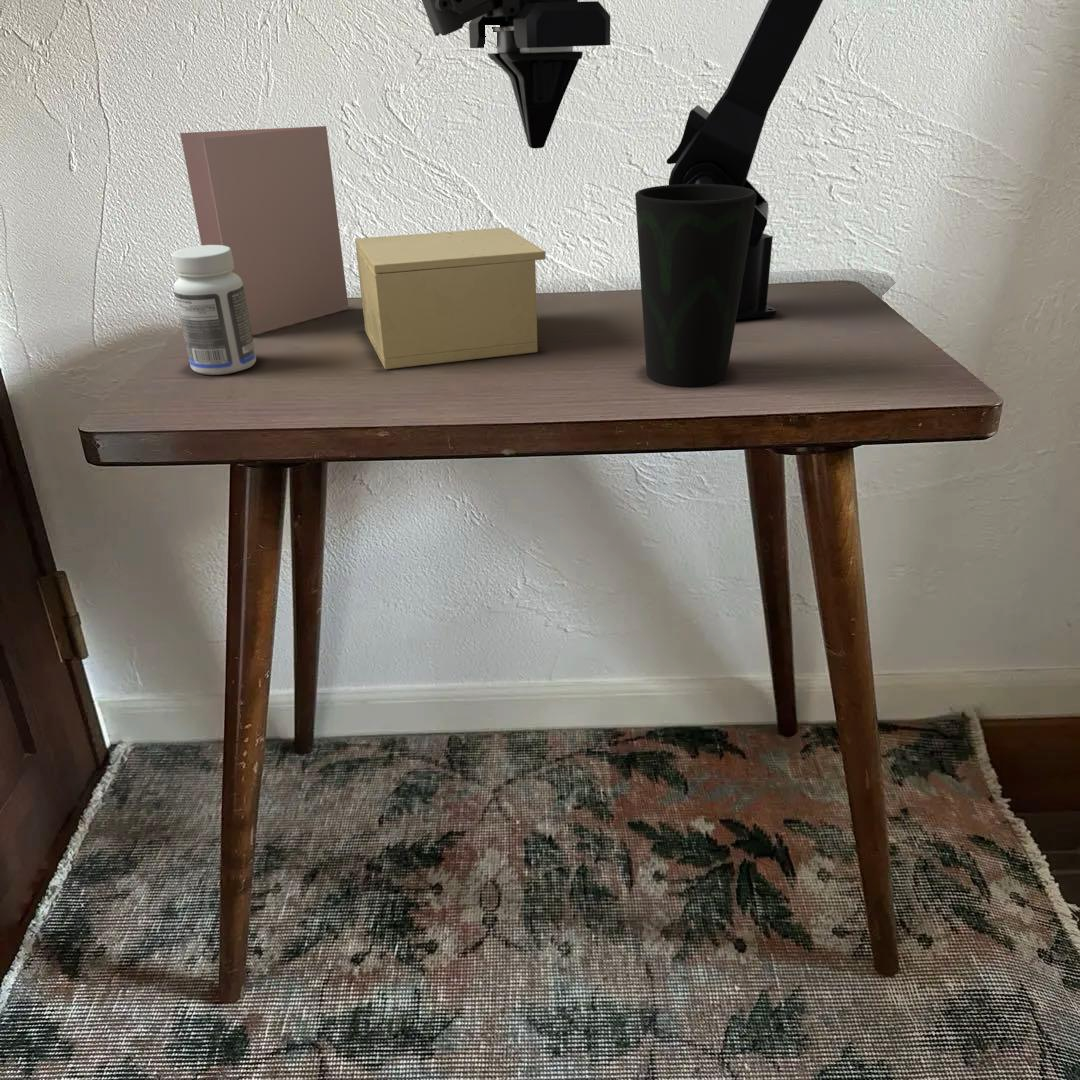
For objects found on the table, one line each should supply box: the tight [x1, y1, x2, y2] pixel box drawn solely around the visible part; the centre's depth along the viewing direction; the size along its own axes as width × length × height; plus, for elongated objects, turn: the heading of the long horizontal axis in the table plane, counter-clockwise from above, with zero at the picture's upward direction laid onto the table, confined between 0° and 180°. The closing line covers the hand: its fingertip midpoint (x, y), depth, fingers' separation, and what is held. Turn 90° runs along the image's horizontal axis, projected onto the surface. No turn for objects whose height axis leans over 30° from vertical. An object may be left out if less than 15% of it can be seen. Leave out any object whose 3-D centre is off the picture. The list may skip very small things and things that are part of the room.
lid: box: [354, 226, 547, 274], centre depth 70 cm, size 12×11×1 cm
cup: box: [634, 184, 757, 388], centre depth 62 cm, size 8×8×12 cm
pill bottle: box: [171, 245, 257, 376], centre depth 68 cm, size 5×5×8 cm
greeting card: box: [179, 125, 350, 336], centre depth 77 cm, size 11×7×15 cm, turn 105°
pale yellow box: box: [355, 246, 539, 370], centre depth 72 cm, size 12×11×7 cm
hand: (536, 147), depth 77 cm, fingers closed
